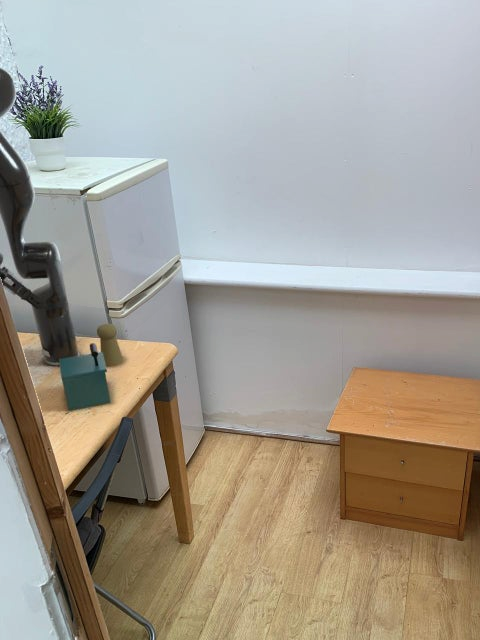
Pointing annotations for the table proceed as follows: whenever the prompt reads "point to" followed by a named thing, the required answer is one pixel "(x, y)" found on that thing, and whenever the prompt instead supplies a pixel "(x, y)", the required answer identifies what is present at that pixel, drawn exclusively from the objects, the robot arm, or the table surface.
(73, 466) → the table surface
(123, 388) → the table surface
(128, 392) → the table surface
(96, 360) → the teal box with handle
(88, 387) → the teal square box
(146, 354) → the table surface
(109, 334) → the olive pepper mill
